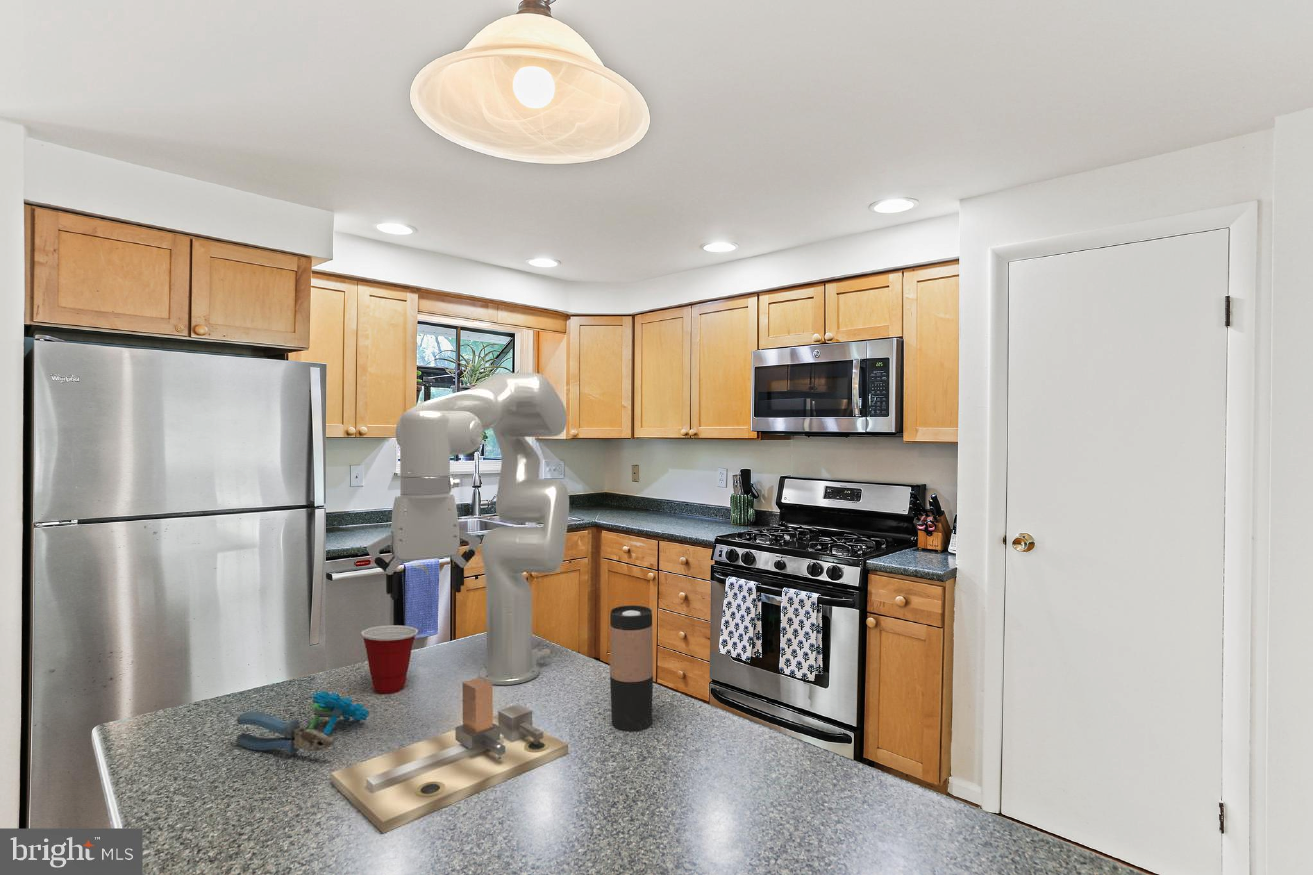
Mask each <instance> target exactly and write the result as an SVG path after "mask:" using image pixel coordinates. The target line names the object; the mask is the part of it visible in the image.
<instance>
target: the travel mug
mask: <svg viewBox="0 0 1313 875" xmlns="http://www.w3.org/2000/svg"><path fill="white" fill-rule="evenodd" d="M609 618H610V620H609V622H610V625H609V629H610V630H609V634H610V635H609V638H610V639H609V675H610V676H609V680H610V681H609V682H610V683H609V685H610V707H611V708H610V710H611V713H610V714H611V724H612V726H613V727H614V728H615V729H617V730H619V731H623V732H639V731H642V730H646V729H648V728H649V727H650V726H651V725H652V722H653V721H652V720H653V694H654V692H653V691H654V690H653V689H654V688H653V687H654V664H653V663H654V655H653V654H654V652H653V650H654V648H653V644H654V642H653V610H652V609H651V608H650V607H648V606H643V605H635V604H634V605H632V604H631V605H629V604H628V605H620V606H616V607H614V608H612V609H610V617H609Z"/></svg>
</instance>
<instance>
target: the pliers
mask: <svg viewBox="0 0 1313 875" xmlns="http://www.w3.org/2000/svg"><path fill="white" fill-rule="evenodd" d="M236 722H237V725H253V726H258V727H261V728H264V729H265V730H269V731H271V732H275V733H276V734H279V735H282V736H281V737H280V736H279V737H259V736H257V735H252V734H249V733H244V732H243V733H240V734H239V735H238V736H237V738H236V740H235V741H236V744H238V745H240V746H242V747H243V748H246V749H247V750H248V749H249V750H252V751H253V750H254V751H268V750H269V751H270V750H272V751H273V750H281V749H285V753H286V754H287V755H288V756H292V755H295V754H297V753H298V752H299V750H300V749H303V751H308V752H317V751H321V750H325V749H328V748H331V747H333V746H334V745H335V739H333V738H332V737H331V736H328V735H325V734H323V732H322V731H320V730H318V729H317V730H316V729H314V728H313V729H309V728H307V729H304V727H301V723H300V721H299V720H298V719H297V718H293V719H290V720H289V721H288V722H287V721H284V720H283V719H281V718H279V717H276V716H275V715H272V714H269V713H265V712H263V711H262V712H261V711H246V712H243V713H241V714H240V715H239V716H237V717H236Z"/></svg>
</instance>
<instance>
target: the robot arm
mask: <svg viewBox="0 0 1313 875" xmlns="http://www.w3.org/2000/svg"><path fill="white" fill-rule="evenodd" d="M567 421H568V414H567V410H566V407H565V404H564V402H563V401H562V399H561V398H560V396H559V393H557V391H556V389H555V387H554V386H553V385H552V383H551V382H550V381H549V379H547V378H546V377H545V376H544V375H542V374H540V373H537V372H507V373H506V372H505V373H502V372H501V373H495V374H493V375H490V376H488V377H487V378H485V379H484V380H482V381H480V382H479V383H477V384H476V385H473V386H472V387H470V388H469V389H466V390H461V391H457V392H453V393H450V394H446V395H444V396H443V395H442V396H439V397H436V398H431V399H428V400H425V401H423V402H422V401H421V403H419V404H417V405H415V406H413V407H411V408H409V409H408V410H406V411H405V412H403V413H402V415H401V416H400V417H399V419H398V421H397V423H396V426H395V432H394V433H395V439H396V443H397V445H398V446H399V448H400V449H399V451H400V452H399V454H400V456H399V457H400V460H399V461H400V462H399V463H400V464H399V465H400V466H399V469H400V470H399V471H400V472H399V474H400V476H399V477H400V479H399V482H400V483H399V484H400V485H399V486H400V495H399V496H395V497H394V499H393V506H392V510H391V512H392V514H391V524H390V533H388V534H387V535H385V536H383V537H382V538H380V539H378V540H376V541H374V542H373V543H370V544H369V545H367V547H366V551H367V552H368V554H369V556H370V557H371V559H372V561H373V563H374V564H375V566H377V567H379V569H380V570H382V571H383V572H385V593H386V595H389V596H390V598H391V599H392V601H397V600H398V599H399V594H398V592H399V583H398V581H399V579H398V576H399V575H398V573H397V571H396V570H397V569H398V568H399V567H400V566H401V564H402V563H403V562H409V561H410V562H411V561H412V562H413V561H421V560H422V561H423V560H432V559H433V560H435V559H445V558H450V559H451V560H452V561H453V563H454V564H453V565H452V568H451V570H452V572H451V573H452V574H451V575H452V577H451V578H452V579H451V580H452V581H451V582H452V583H451V584H452V585H451V586H452V588H451V589H452V590H453V591H454V592H455V593H459V594H460V593H461V592H462V587H464V586H465V567H466V566H467V564H468V563H469V562H470V561H471V559H473V558H474V556H475V555H476V552H477V550H478V548H479V546H480V552H481V559H482V560H481V561H482V564H483V570H484V575H485V576H484V578H485V595H486V596H485V599H486V611H485V612H486V614H485V615H486V620H485V621H486V622H485V623H486V665H485V666H483V667H482V668H481V669H480V670H479V672H478V673H479V674H478V678H482V679H484V680H486V681H488V682H490V683H492V684H493V686H495V685H498V686H511V685H518V684H522V683H526V682H529V681H532V680H533V679H535V678H537V677H538V675H539V674H540V666H539V664H537V663H538V662H539V661H540V660H541V659H543V660H544V659H547V658H550V657H551V655H552V653H551V652H552V651H551V650H550V648H544V649H540V650H539V648H533V615H532V614H533V604H532V603H533V597H532V596H533V594H532V593H533V592H532V589H531V586H530V584H529V582H528V580H527V579H526V577H525V576H524V575H523V573H525V574H526V573H529V574H530V573H533V574H535V573H536V574H537V573H538V574H551V573H556V572H557V571H558V570H559V569H560V568H561V566H562V565H563V561H564V557H565V551H566V541H567V532H568V523H569V522H568V521H569V514H570V496H569V491H568V490H569V489H568V487H567V486H566V484H565V483H564V482H562V481H560V480H557V479H551V478H549V479H547V478H546V479H545V478H544V479H543V478H539V476H540V467H541V459H540V456H539V454H538V453H537V451H536V449H535V448H534V447H533V445H532V444H530V442H529V441H528V440H527V439H526V437H528V438H530V437H531V438H546V437H547V438H549V437H550V438H551V437H553V438H554V437H557V436H559V435H561V434H562V433H563V432H564V431H565V430H566V426H567ZM490 429H492V432H493V435H494V437H495V439H496V443H497V446H498V448H499V451H500V455H501V465H500V473H499V480H498V485H497V492H496V498H495V499H496V500H495V512H496V515H497V516H498V518H499V519H501V520H502V521H505V522H510V523H532V524H533V523H539V524H540V523H541V524H543V527H533V526H531V527H530V526H529V527H527V526H500V527H499V526H498V527H495V528H492V529H490V530H489V531H488V532H486V533H485V534H484V535H483V538H482V540H481V538H480V537H478V536H475V535H473V534H471V533H469V532H467V531H464V530H461V529H460V526H459V517H458V509H457V502H456V498H455V496H454V494H451V492H452V490H453V489H455V488H459V487H460V479H458V478H457V479H456V478H455V479H454V478H452V475H451V456H452V455H453V456H454V455H455V456H460V455H463V456H464V455H468V454H470V453H473V452H475V451H476V450H478V448H479V447H480V445H481V444H482V441H483V438H484V431H488V430H490ZM460 539H462V540H464V541H466V542H468V547H467V549H465V551H464V552H463V553H462V554H460V553H459V552H460V545H461V544H460V543H461V540H460ZM389 545H390V554H391V555H392V556H391V557H390V558H389V560H388V561H386V560H385V559H384V558H383V557H382V556H381V553H380V550H383V549H384V548H385V547H388V546H389Z"/></svg>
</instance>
